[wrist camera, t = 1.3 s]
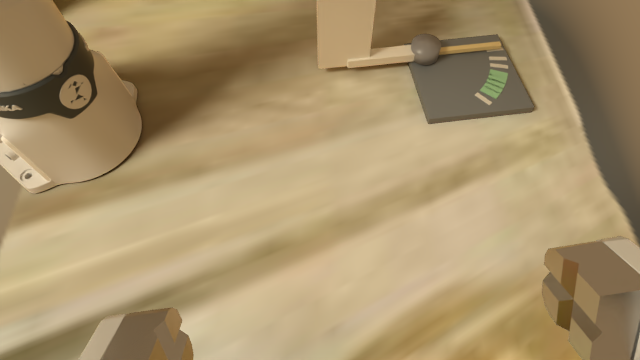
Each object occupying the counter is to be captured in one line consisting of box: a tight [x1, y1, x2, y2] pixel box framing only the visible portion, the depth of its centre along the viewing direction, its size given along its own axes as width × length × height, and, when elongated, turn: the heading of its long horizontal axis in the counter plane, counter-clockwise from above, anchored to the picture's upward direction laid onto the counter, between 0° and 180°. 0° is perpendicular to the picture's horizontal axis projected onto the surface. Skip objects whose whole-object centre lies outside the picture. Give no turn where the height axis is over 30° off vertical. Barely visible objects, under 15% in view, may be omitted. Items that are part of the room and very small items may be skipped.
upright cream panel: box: [316, 0, 502, 69], centre depth 54 cm, size 26×4×13 cm, turn 98°
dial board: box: [404, 35, 534, 124], centre depth 59 cm, size 14×14×1 cm
